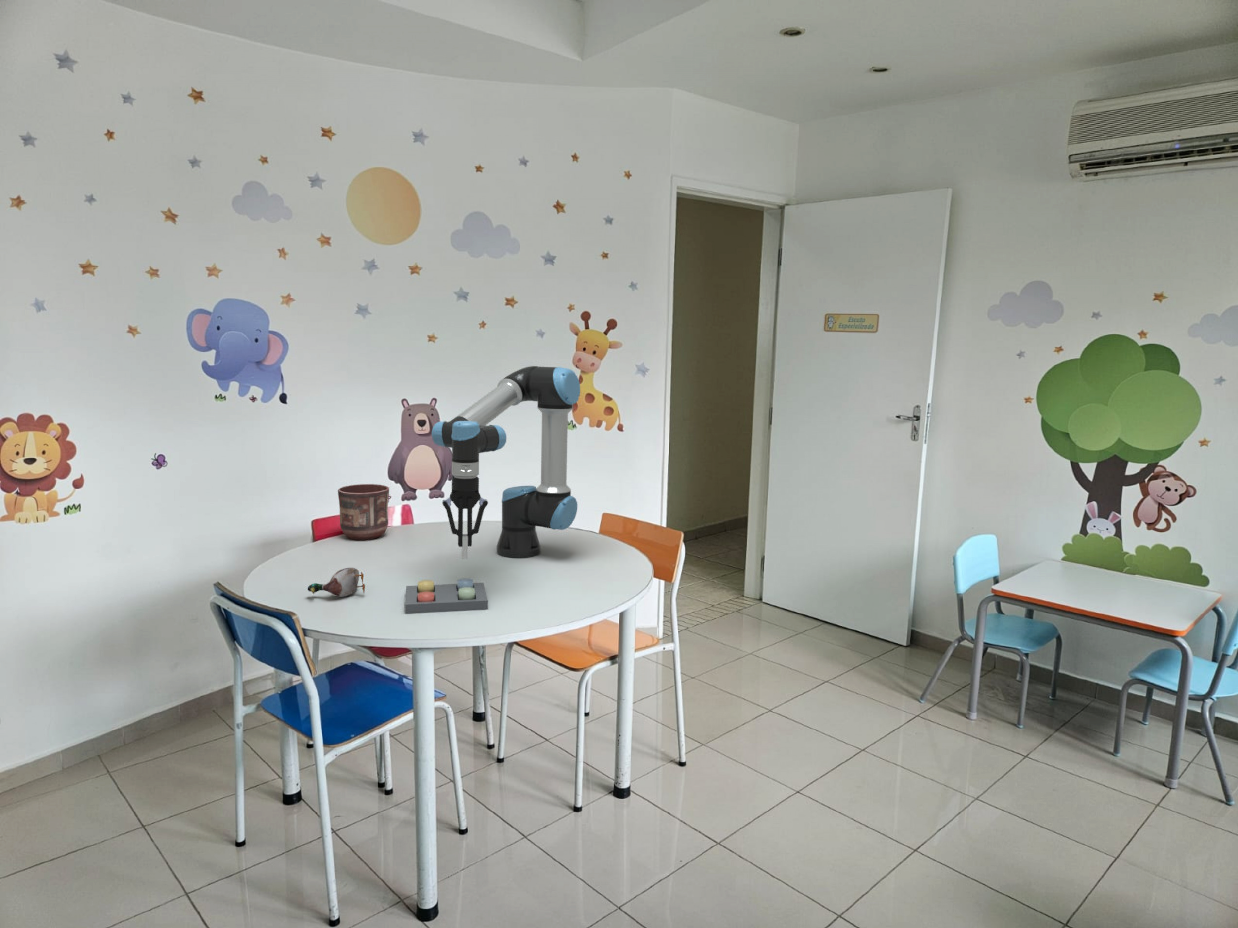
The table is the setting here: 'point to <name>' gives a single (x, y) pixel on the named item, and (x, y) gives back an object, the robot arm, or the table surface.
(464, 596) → the sage button
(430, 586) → the ochre button
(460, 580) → the slate button
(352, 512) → the pottery
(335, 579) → the decorative duck model
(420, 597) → the red button
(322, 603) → the table surface
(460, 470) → the robot arm
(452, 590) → the button panel
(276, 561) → the table surface
